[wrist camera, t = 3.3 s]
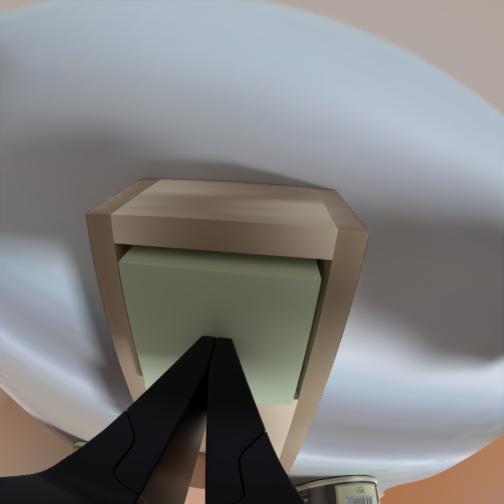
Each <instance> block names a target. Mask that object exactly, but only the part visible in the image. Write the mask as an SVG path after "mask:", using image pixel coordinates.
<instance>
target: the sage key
mask: <svg viewBox="0 0 504 504" xmlns="http://www.w3.org/2000/svg"><path fill="white" fill-rule="evenodd" d="M118 265H119V271H120V277H121V283H122V288H123V294H124V299H125V304H126V309H127V313H128V318H129V323H130V327H131V331H132V336H133V340H134V344H135V348H136V352H137V355H138V359H139V363H140V367H141V370H142V374H143V377H144V381H145V384H146V387H147V389H148V388H149V387H150V386H151V385H152V384H153V383H154V382H155V381H156V380H157V379H158V378H159V377H160V376H161V375H162V374H163V373H165V372H166V371H167V370H168V369H169V368H170V367H171V366H172V365H173V364H174V363H175V362H176V361H177V360H178V359H179V358H180V357H181V356H182V355H183V354H184V353H185V352H186V351H187V350H188V349H189V348H190V347H191V346H192V345H193V344H194V343H195V342H196V341H197V340H198V339H199V338H200V337H201V336H203V335H206V336H214V337H216V338H218V337H225V338H231V339H232V340H233V343H234V345H235V348H236V351H237V354H238V357H239V359H240V362H241V365H242V368H243V371H244V373H245V376H246V379H247V381H248V384H249V387H250V389H251V392H252V395H253V397H254V400H255V403H261V404H281V405H292V402H293V398H294V395H295V391H296V387H297V383H298V380H299V376H300V372H301V368H302V364H303V360H304V356H305V352H306V348H307V343H308V339H309V335H310V331H311V326H312V322H313V317H314V313H315V308H316V303H317V299H318V294H319V289H320V284H321V276H320V273H319V269H318V266H317V262H316V259H313V258H300V257H287V256H273V255H260V254H247V253H234V252H221V251H208V250H195V249H182V248H169V247H156V246H144V245H133V246H132V247H131V249H130V250H129V251H128V252H127V253H126V254H125V255H124V256H123V257H122V259H121V260H120V261H119V262H118Z"/></svg>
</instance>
